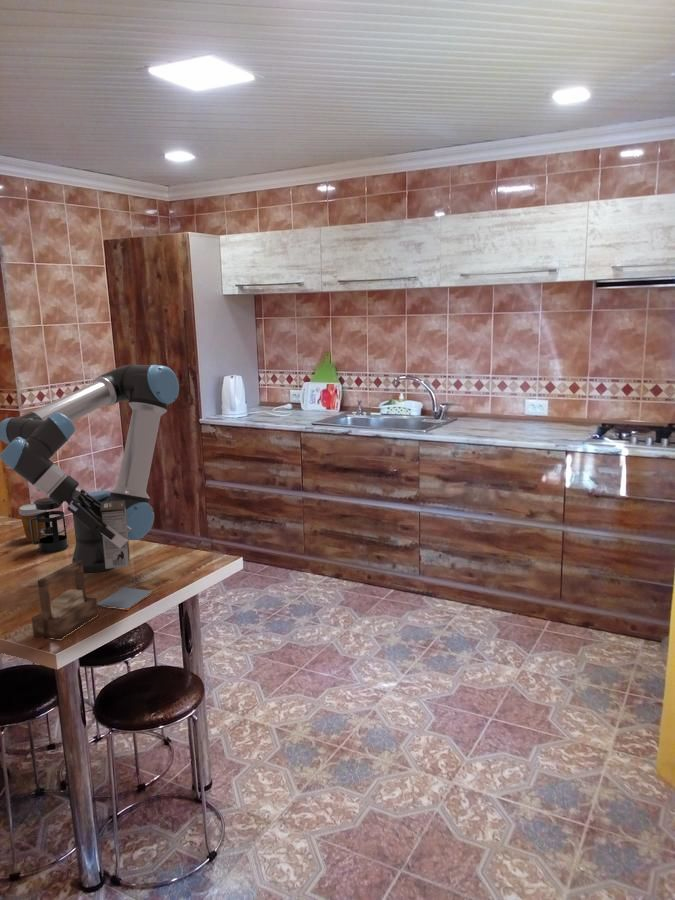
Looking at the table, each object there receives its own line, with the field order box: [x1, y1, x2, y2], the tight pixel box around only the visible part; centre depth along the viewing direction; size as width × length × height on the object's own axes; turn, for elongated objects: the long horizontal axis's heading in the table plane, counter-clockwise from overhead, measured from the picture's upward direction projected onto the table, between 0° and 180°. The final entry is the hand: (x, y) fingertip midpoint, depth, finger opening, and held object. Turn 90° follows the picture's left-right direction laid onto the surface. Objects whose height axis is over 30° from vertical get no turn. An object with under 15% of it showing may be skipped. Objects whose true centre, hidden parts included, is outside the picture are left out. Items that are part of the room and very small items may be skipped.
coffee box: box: [100, 500, 131, 570], centre depth 180 cm, size 9×6×16 cm
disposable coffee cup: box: [18, 502, 48, 543], centre depth 237 cm, size 10×10×12 cm
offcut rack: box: [31, 560, 99, 639], centre depth 168 cm, size 14×8×15 cm, turn 161°
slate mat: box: [97, 586, 153, 609], centre depth 185 cm, size 12×10×1 cm
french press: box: [30, 494, 69, 554], centre depth 226 cm, size 12×9×23 cm
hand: (125, 538), depth 181 cm, fingers closed on coffee box, 9 cm apart
